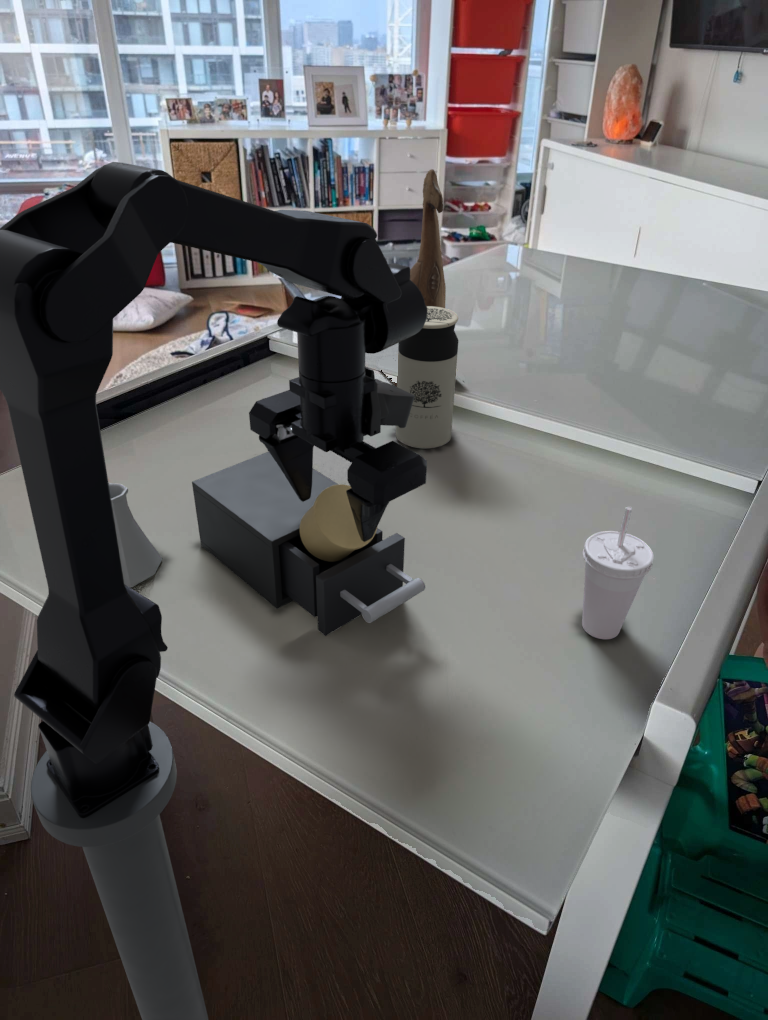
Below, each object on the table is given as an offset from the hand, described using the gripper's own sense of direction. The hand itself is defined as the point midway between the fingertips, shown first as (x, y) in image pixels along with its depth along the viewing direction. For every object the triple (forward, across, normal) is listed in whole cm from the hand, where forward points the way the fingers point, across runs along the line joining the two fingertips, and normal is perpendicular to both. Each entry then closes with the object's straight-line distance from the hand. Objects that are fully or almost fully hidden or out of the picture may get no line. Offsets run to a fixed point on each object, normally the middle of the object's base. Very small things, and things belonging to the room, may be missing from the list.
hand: (335, 518), depth 74 cm
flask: (+10, +19, +14) cm, 26 cm away
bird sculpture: (+10, +33, -47) cm, 58 cm away
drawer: (+9, 0, 0) cm, 9 cm away
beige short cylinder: (+2, +1, 0) cm, 3 cm away
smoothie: (+10, -21, -17) cm, 29 cm away
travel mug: (+10, +18, -32) cm, 38 cm away
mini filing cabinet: (+10, +10, 0) cm, 14 cm away
